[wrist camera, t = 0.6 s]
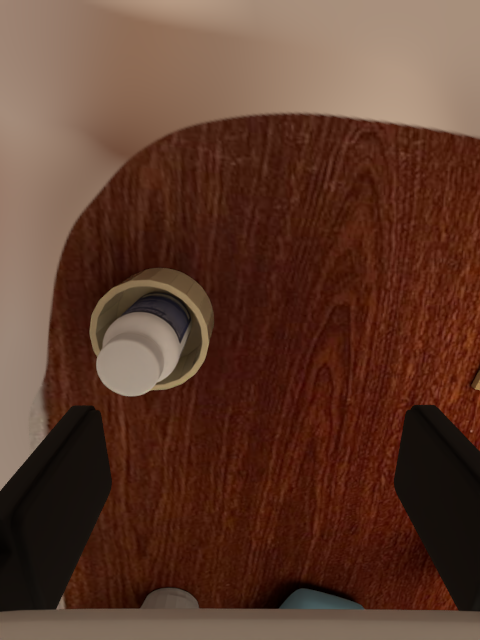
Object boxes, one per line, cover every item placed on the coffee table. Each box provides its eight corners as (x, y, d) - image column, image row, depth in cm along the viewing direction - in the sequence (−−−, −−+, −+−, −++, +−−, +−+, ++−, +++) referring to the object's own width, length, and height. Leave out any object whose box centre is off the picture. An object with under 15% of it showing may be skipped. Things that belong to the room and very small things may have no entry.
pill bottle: (131, 287, 29) (79, 325, 20) (193, 290, 29) (170, 330, 20) (134, 344, 31) (88, 404, 22) (192, 348, 31) (171, 408, 22)
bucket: (120, 256, 29) (96, 266, 24) (223, 282, 30) (220, 297, 25) (107, 350, 32) (84, 376, 27) (202, 372, 32) (194, 400, 28)
